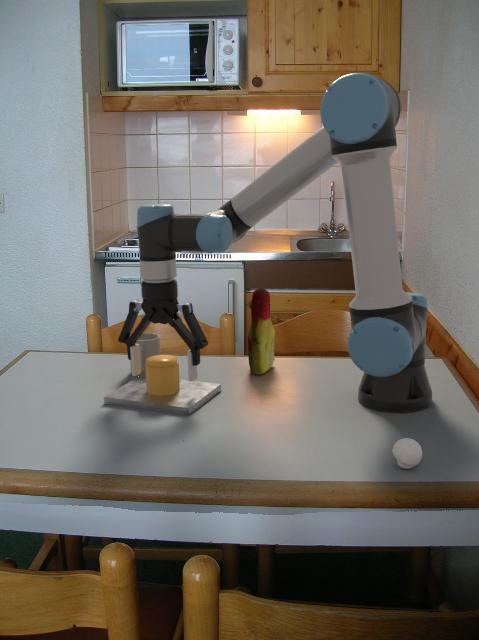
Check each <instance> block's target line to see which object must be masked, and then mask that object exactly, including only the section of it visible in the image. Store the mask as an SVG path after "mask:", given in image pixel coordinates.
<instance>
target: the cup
mask: <svg viewBox="0 0 479 640" xmlns="http://www.w3.org/2000/svg"><path fill="white" fill-rule="evenodd" d="M135 344H140V359H141V373H140V374H138V375H136V376H135V377H138V376H141V375H145V376H146V367H145V364H146V359H147V358H149V357H152V356H156V355H162V354H161V335H160V334H158V333H153V332H143V333H142V335H141V336H140V337H139V339H138V340H137V342H136V343H135ZM129 361H130V362H129V363H130V364H131V360H129ZM130 372H131V374H132V366H131V365H130Z"/></svg>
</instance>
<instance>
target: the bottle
mask: <svg viewBox="0 0 479 640" xmlns="http://www.w3.org/2000/svg"><path fill="white" fill-rule="evenodd" d="M251 296H252V297H251V303H250V306H251V307H250V309H251V311H250V317H251V318H250V319H251V323H250V326H249V328H248V330H247V331H248V332H247V352H248V367H249V370H250V371H251V372H252V373H253V374H255V375H263V374H265V373H266V372H267V371H268V370H270V369H271V368H272V366H273V365H274V361H276V360H275V342H276V341H275V340H276V337H275V336H276V331H275V326H274V325H273V323H272V319H271V295H270V291H268V290H267V289H265V288H262V287H259V288H256V289H254V291H253V293H252V295H251Z"/></svg>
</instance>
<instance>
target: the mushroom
mask: <svg viewBox="0 0 479 640" xmlns="http://www.w3.org/2000/svg"><path fill="white" fill-rule="evenodd" d="M391 451H392V454H393V456H394V458H395V459H396V463H397V465H398V466H399V467H400V468H401V469H404V470H409V469H413V468H414V467H416V466H417V465H419V463H420V462H421V461H422V458H423V449H422V447H421V445H420V444H419V442H417V441H416V440H415V439H413V438H409V437H403V438H400V439H398V440H396V441H395V442H394V444H393V446H392V450H391Z"/></svg>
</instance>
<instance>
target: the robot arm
mask: <svg viewBox="0 0 479 640" xmlns="http://www.w3.org/2000/svg"><path fill="white" fill-rule="evenodd" d="M401 102H402V101H401V98H400V96H399V94H398V92H397V90H396V89H395V87H394V86H393V85H392V84H391V83H390V82H388V81H386V80H384V79H382V78H379V77H377V76H375V75H373V74H372V73H367V72H355V73H349V74H346V75H342V76H341V77H339V78H337V79H336V80H335V81H333V82H332V83H331V84H330V85H329V87H328V88H327V89H326V90H325V92H324V94H323V96H322V98H321V103H320V110H319V112H320V119H321V120H320V121H321V123H322V126H321V127H320V128H319V129H318V130H317V131H315V132H314V133H313V134H311V135H310V136H309V137H308V138H306V139H305V140H304V141H303V142H301V143H300V144H299V145H298V146H296V147H295V148H293V150H291V151H290V152H289V153H288V154H286V155H285V156H283V158H281V159H280V160H278V161H277V162H276V163H275V164H274V165H272V166H271V167H270V168H269V169H267V170H266V171H264V172H263V173H262V174H261V175H260V176H258V177H257V178H256V179H254V180H253V181H252V182H250V184H248V185H247V186H246V187H245V188H243V189H242V190H240V191H239V192H238V193H237V194H236V195H234V196H233V197H232V198H231V199H229V200H228V201H227V202H225V203H224V204H223V205H222V206H220V207H219V208H218V209H216V210H212V211H208V212H204V213H196V214H195V213H194V214H191V213H190V214H178V213H175V211H174V210H175V209H174V206H173V205H172V204H169V203H149V204H143V205H142V204H141V205H140V206H139V207H138V208H137V211H136V216H137V217H136V222H137V224H136V229H137V239H138V251H139V252H138V253H139V273H140V274H139V276H140V279H141V280H142V281H141V282H140V287H141V289H140V291H141V298H142V301H140V300H139V299H134V300H132V301H129V302H128V303H129V304H128V313H127V315H126V317H125V320H124V323H123V326H122V328H121V331H120V334H119V335H118V336H119V337H118V342H119V343H120V344H121V343H122V344H125V345H126V351H127V359H128V360H129V361H130V360H131V363H130V367H131V366H132V373H131V376H132V377H137V376H136V375H138V374H140V373H141V359H140V344H135V343H136V342H137V340H138V339H139V337H140V336H141V335H142V333H145V331H146V329H147V328H148V327H149V326H150V324H151V323H152V324H162V325H167V324H168V325H169V326H170V327H171V328H173V329H174V330H175V332H176V333H177V334H178V335H179V337H180V339H182V341H183V342H184V343H185V344H186V345H187V347H188V348H189V350H187V352H186V353H187V372H188V373H187V374H188V375H187V376H188V380H189V382H192V381H196V380H197V379H198V365H200V364H201V350H202V349H204V348H206V347H207V346H208V345H209V342H208V340H207V337H206V336H205V333H204V331H203V329H202V327H201V326H200V323H199V321H198V320H197V317H196V315H195V313H194V306H193V303H192V302H190V301H189V302H186V303H179V301H178V299H179V298H178V297H179V296H178V294H179V292H178V289H179V288H178V280H177V279H176V277H177V275H178V274H177V273H178V272H177V271H178V270H177V256H176V254H177V253H176V252H187V253H188V252H190V253H191V252H192V253H194V252H195V253H208V254H213V253H224V252H226V251H227V250H228V249H229V248H230V246H231V244H234V243H236V242H238V241H240V240H241V239H242V238H244V237H245V236H246V234H247V232H248V231H250V230H251V229H252V228H253V227H255V226H256V225H257V224H258V223H260V222H261V221H262V220H264V219H265V218H267V217H268V216H269V215H271V214H272V213H273V212H274V211H276V210H278V208H280V207H282V206H283V205H284V204H285V203H287V202H288V201H289V200H291V199H292V198H293V197H295V196H296V195H297V194H298V193H300V192H301V191H303V190H304V189H305V188H306V187H308V186H309V185H311V184H312V183H313V182H314V181H316V180H318V179H319V178H320V177H321V176H323V175H324V174H325V173H326V172H328V171H329V170H330V169H331V168H333V167H334V166H336V165H338V164H339V165H340V166H341V172H342V173H341V174H342V182H343V191H344V200H345V208H346V216H347V217H346V218H347V225H348V226H347V227H348V234H349V246H350V252H351V261H352V271H353V280H354V288H355V296H354V297H353V298H352V300H351V301H350V303H348V304H349V305H348V308H349V317H350V325H351V326H350V327H351V329H350V332H349V333H348V334H349V335H348V337H347V352H348V355H349V357H350V360H351V361H352V362H353V364H354V365H355V366H356V367H357V368H358V369H359V370H360V371H362V372H363V375H362V378H361V380H360V383H359V385H358V389H357V390H358V391H357V392H358V395H357V396H358V397H357V399H358V402H359V403H361V404H362V405H363V406H365V407H368V408H370V409H373V410H377V411H382V412H389V413H411V412H418V411H421V410H425V409H427V408H429V407H430V406H431V405H432V403H433V391H432V386H431V383H430V379H429V377H428V372H427V369H426V367H425V366H426V365H425V364H426V363H425V362H426V343H427V342H426V339H427V313H428V311H429V307H428V300H427V299H428V298H427V297H426V296H425V295H424V294H422V293H418V292H408V291H407V292H406V291H405V290H404V287H403V279H402V271H401V258H400V247H399V240H398V229H397V219H396V211H395V200H394V198H395V197H394V192H393V191H394V190H393V180H392V170H391V168H392V167H391V161H390V159H391V157H392V155H393V154H394V153H395V151H396V150H397V149H398V145H397V144H398V142H397V134H396V131H397V130H396V127H397V125H398V123H399V121H400V118H401V113H402V103H401ZM141 310H142V311H143V314H144V316H143V317H142V318H141V319H140V322H139V323H138V325H137V326H136V327H135V329H134V326H135V323H136V321H137V319H138V315H139V313H140V311H141ZM179 311H180V314H181V315H183V316H182V317H183V319H184V321H185V323H186V324H185V323H184V322H183V320H182V318H181V316H180V315H179V314H178V312H179ZM186 325H187V326H186ZM133 329H134V330H133ZM132 331H133V332H132Z"/></svg>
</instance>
